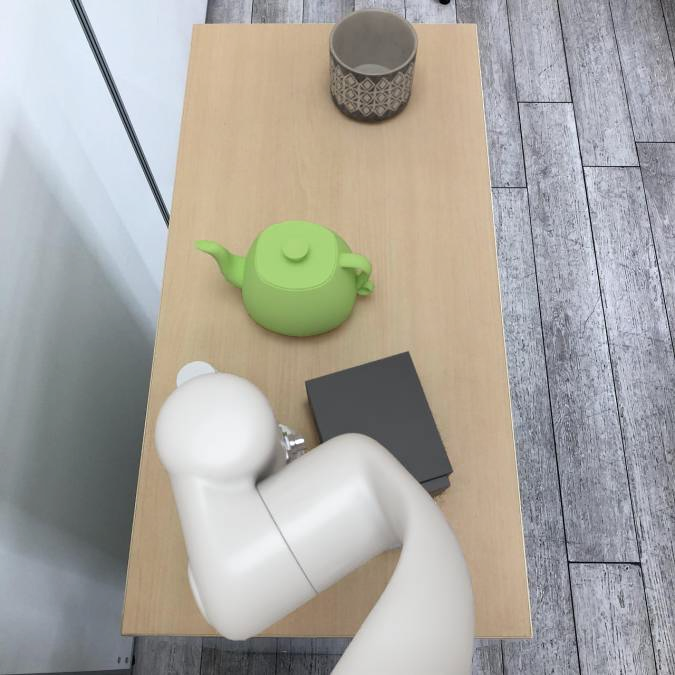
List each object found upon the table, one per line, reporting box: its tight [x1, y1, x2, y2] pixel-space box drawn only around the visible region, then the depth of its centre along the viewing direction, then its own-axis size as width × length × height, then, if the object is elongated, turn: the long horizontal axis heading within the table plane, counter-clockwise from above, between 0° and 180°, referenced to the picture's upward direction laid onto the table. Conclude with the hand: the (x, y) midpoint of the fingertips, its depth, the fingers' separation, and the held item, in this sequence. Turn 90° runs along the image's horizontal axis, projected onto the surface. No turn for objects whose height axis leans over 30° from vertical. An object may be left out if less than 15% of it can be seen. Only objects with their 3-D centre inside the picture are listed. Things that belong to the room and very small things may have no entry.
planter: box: [328, 7, 419, 122], centre depth 94 cm, size 13×13×10 cm
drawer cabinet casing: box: [304, 350, 454, 483], centre depth 74 cm, size 15×13×10 cm
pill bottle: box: [175, 360, 221, 388], centre depth 76 cm, size 6×6×10 cm
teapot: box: [193, 220, 375, 337], centre depth 80 cm, size 22×15×13 cm
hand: (265, 491), depth 66 cm, fingers closed
